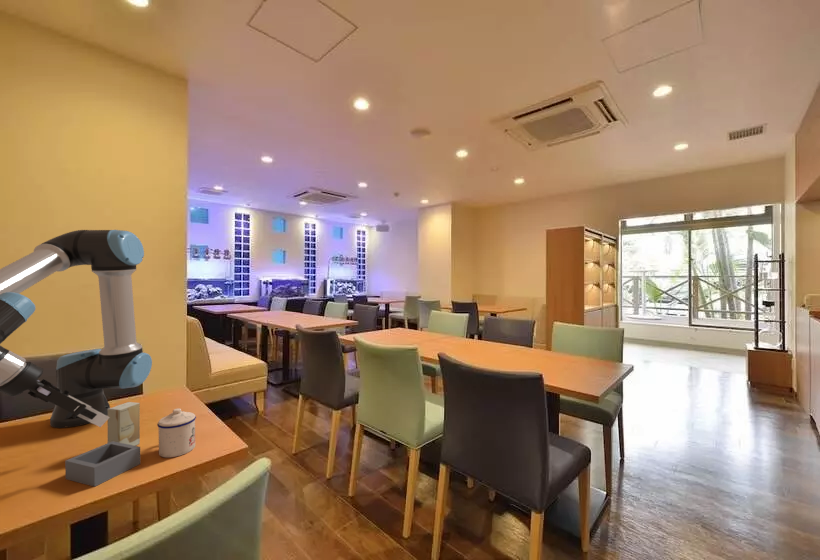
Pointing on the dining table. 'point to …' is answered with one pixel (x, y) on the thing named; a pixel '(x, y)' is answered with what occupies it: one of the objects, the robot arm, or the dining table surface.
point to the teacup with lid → (176, 433)
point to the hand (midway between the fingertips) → (95, 416)
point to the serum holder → (102, 463)
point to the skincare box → (124, 423)
